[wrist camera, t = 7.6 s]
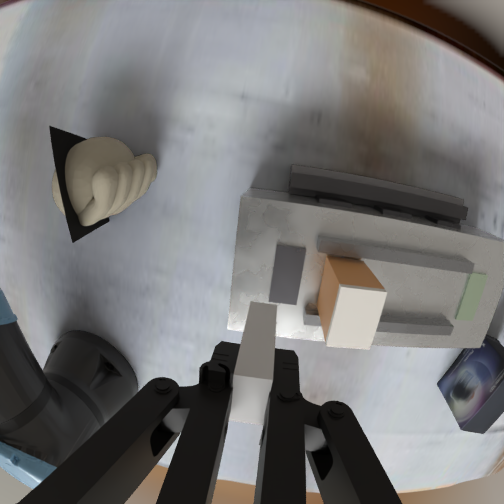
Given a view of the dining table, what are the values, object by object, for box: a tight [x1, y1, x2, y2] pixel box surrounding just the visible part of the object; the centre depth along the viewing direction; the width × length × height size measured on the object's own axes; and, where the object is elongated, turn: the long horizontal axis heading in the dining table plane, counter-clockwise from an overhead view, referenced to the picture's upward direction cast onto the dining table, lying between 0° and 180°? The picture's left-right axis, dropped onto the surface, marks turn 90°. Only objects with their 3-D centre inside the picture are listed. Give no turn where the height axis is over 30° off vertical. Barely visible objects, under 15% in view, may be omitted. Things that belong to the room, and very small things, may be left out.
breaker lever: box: [317, 256, 387, 350], centre depth 22 cm, size 3×4×6 cm
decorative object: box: [49, 126, 157, 243], centre depth 27 cm, size 13×10×10 cm
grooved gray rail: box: [289, 165, 468, 224], centre depth 30 cm, size 20×3×3 cm, turn 84°
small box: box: [437, 334, 504, 434], centre depth 31 cm, size 11×6×10 cm, turn 156°
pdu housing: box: [227, 188, 504, 348], centre depth 29 cm, size 28×12×9 cm, turn 84°
